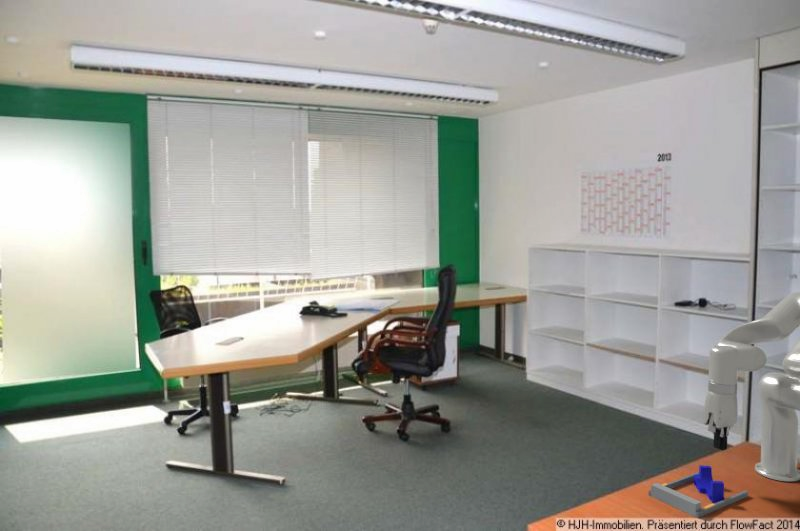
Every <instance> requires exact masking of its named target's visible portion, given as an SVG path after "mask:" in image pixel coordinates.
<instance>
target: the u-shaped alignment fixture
mask: <svg viewBox="0 0 800 531" xmlns="http://www.w3.org/2000/svg"><path fill="white" fill-rule="evenodd" d="M694 475H699V471H697V472H694V473H692V474H689V475H686V476H683V477H680V478H679V479H676V480H674V481H671V482H667V483H665V482H664V483H663V484H661V483H658V482H655V483H653V484H651V486H650V487H651V488H650V489H648V496H650V497H651V498H653V499H656V500H658V501H661V502H662V503H665V504H667V505H669V506H671V507H673V508H675V509H678V510H680V511H682V512H684V513H686V514H688V515H691V516H692V517H695V518H697V519H699V518H701V517H704V516H706V515H709V514H711V513H714V512H715V511H718V510H720V509H722V508H724V507H727V506H729V505H732V504H735V503H737V502H739V501H741V500H743V499H745V498H749V491H748V490H746V489H745V490H743V491H741V492H738V493H736V494H734V495H730V496H729V497H727V498H724V500H722V501H719V502H717V503H712V502H711V503H709V504H707V505H704V506H703V507H702V501H699V500H697V499H696V498H693V497H691V496H688V495H686V494H684V493H681V492H679V491H677V490H674V488H677V487H679V486H682V485H685V484H687V482H688V483H689V481H690V482H692V480H693V481H694Z"/></svg>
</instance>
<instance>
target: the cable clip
mask: <svg viewBox="0 0 800 531" xmlns="http://www.w3.org/2000/svg"><path fill="white" fill-rule="evenodd" d="M712 471H713V470H712V467H711V465H704V464H703V465H700V464H699V465H698V472H699V475H694V480H693V486H696V487H695V488H696V490H697V489H698V490H697V491H698V493H699V494H705V495H706V496H707V498H708V499H709V501H710V502H711V504H712V503H713V504H715V503H717V502H719V501H722V500H724V499H725V497H724V496H725V483H724V482H723V481H722V480H714V479H713V472H712Z"/></svg>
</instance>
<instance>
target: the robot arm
mask: <svg viewBox="0 0 800 531" xmlns="http://www.w3.org/2000/svg"><path fill="white" fill-rule="evenodd" d="M799 327H800V292H792V293H790V294H789V293H788V295H786V296H785V297H784V298H783V299H782V300H781V301H779V303H777V304H776V305H775V306H774V307H773V308H772V309H771V310H769V311H768V312H767V313H766V314H765V315H764V316H763V317H761V318H759V319H755V320H752V321H750V322H747V323H744V324H741V325H738V326H737V327H735V328H733V329H731V330H730V331H728V332H727V333H726V334H725V335H724V336H722V338H721V339H720V340H719V341H718V342H717V343H716V345H713V346H711V347H710V349H709V357H708V358H709V359H708V360H709V361H708V383H707V384H708V385H707V387H708V388H707V392H706V397H705V401H704V409H703V419H702V420H703V421H702V422H703V424H704V425H706V426H707V425H708V427H707V428H708V429H707V431H708V432H710V433H712V435H713V448H714V449H717V450H720V451H726V450H728V436H729V434H730V429H732V428H733V427H734V425H735V424H736V423H737V421H738V411H739V409H738V397H737V396H738V377H739V376H738V375H739V371H740V372H758V371H760V370H762V369H763V368H764V367H765V366H766V364H767V355H766V353H765V352H764V351H763V349H761V348H760V347H758V346H754V344H760V343H772V342H778V341H783V340H786V339H788V337H790V335H792V334H793V333H794V332H795V331H796V330H797V329H798V328H799ZM781 367H782V369H783V372H785V373H782V372H775V371H772V372H768V373H765V374H763V376H761V377H760V380H759V383H758V392H759V397H760V402H761V403H760V404H761V435H760V436H761V439H760V440H761V443H760V444H761V446H760V461H759V462H757V463H755V465H754V470H755V471H756V472H757V473H758V474H760V476H762V477H765V478H767V479H771V480H776V481H780V482H798V481H800V469H799V468H798V464H799V463H800V455H798V447H799V446H798V445H799V441H798V440H799V418H798V415H797V412H796V411H798V412H800V337H799V338H798V339H797V341H796V342H795V343H794V345H792V347H791V348H790V350H789V351H788V353H787V354H786V355H785V357H784V358H783V360H782V366H781Z"/></svg>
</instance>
